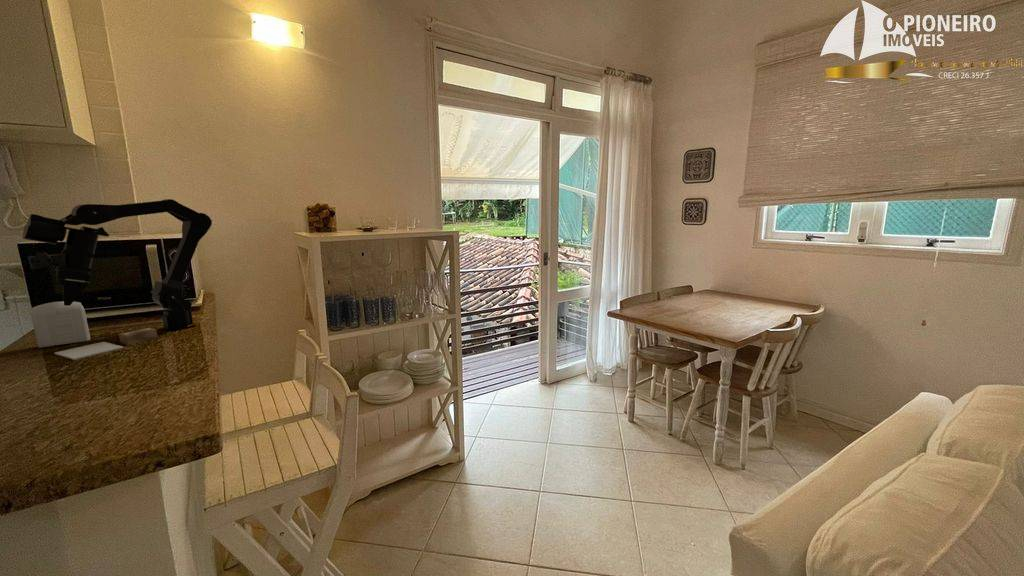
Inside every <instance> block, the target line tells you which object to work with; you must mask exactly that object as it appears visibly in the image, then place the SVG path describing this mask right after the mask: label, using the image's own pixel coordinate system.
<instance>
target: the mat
mask: <svg viewBox="0 0 1024 576" xmlns="http://www.w3.org/2000/svg"><path fill="white" fill-rule="evenodd" d="M122 349H124V346H122V345H118V344H115V343H110V342H107V341H101V342H96V343H92V344H86V345H82V346H78V347H74V348H70V349H69V348H68V349H65V350H61V351H56V352H54V353H53V354H54V355H56V356H59V357H63V358H65V359H69V360H72V361H76V360H81V359H84V358H88V357H89V358H90V357H92V356H97V355H102V354H106V353H109V352H113V351H117V350H122Z"/></svg>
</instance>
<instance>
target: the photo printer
mask: <svg viewBox="0 0 1024 576" xmlns="http://www.w3.org/2000/svg"><path fill="white" fill-rule="evenodd" d="M86 314H87V313H86V310H85V308H84V306H83V305H82V302H79V301H74V302H73V303H72V304H71V305H70V306H66V305H64V301H52V302H48V303H42V304H39V305H36V306H33V307H31V312H30V317H31V322H32V326H33V329H34V335H35V339H36V343H37V347H38V348H39V349H40V348H48V347H54V346H55V345H56V346H62V345H68V344H75V343H82V342H88V341H90V340H91V335H90V330H89V325H88V320H87V315H86Z"/></svg>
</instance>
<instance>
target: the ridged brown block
mask: <svg viewBox="0 0 1024 576" xmlns="http://www.w3.org/2000/svg"><path fill="white" fill-rule="evenodd" d="M157 331H158V330H157V329H156V328H151V327H145V328H141V329H140V328H139V329H135V330H131V331H126V332H122V333H118V338H119V342H120V344H123V345H127V346H129V345H134V344H138V343H143V342H147V341H151V340H156V339H158V338H159V337H158V332H157Z"/></svg>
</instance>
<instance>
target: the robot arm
mask: <svg viewBox="0 0 1024 576" xmlns="http://www.w3.org/2000/svg"><path fill="white" fill-rule="evenodd" d="M70 212H71V213H70V214H68V215H66V216H65V217H64V216H63V217H62V218H60V219H56V218H50V217H47V216H42V215H39V214H35V213H30V214H29V217H28V220H27V221H26V223H25V224H26V225H24V227H23V231H22V240H27V241H34V242H39V243H44V244H45V243H47V244H52V245H57V243H58V242H63V241H64V240H65V238H66V240H65V245H64V247H63V249H62V250H61V252H60V254H48V253H46V252H37V253H36V254H35V255H33V256H28V257H27V258H28V261H29V262H28V263H29V265H30V268H31V270H38V269H41V268H50V267H56V271H55V274H56V275H55V276H56V277H55V278H56V279H55V280H56V281H58V282H59V283H60V284H61V285H62V302H64V305H66V306H70V305H71V304H72V303H73V302H75V300H76V299H77V298H78V297H79V296H80V295H81V294H82V292H83V291H84V290H85V289H86V288H87V287H88V286H89V285H90V284H91V282H92V279H93V276H94V275H93V274H92V272H91V271H92V265H93V260H94V258H95V255H96V254H95V251H96V248H97V243H98V239H99V237H100V236H102V237H110V234H109V233H108V232H107V231H106V230H105V229H104V227H102V226H99V227H97V228H94V227H89V226H96V225H101V224H104V223H108V222H112V221H115V220H119V219H122V218H130V217H137V216H146V215H154V214H162V213H163V214H164V213H167V214H169V215H171V216H172V217H174V218H175V219H177V220H178V221H180V222H182V225H181V235H182V237H181V239H180V241H179V244H178V246H177V248H176V251H175V254H174V256H173V258H172V261H171V264H170V265H169V269H168V271H167V273H166V276H165V277H164V278H163V279H162V281H159V280H155V281H154V285H153V286H154V287H153V288H152V290H151V291H150V294H151V299H152V300H153V302H154V303H155V304H156V305H158V306H161V308H162V309H163V311H162V312H163V315H162V316H161V317H162V321H163V322H162V323H163V327H162V329H165V330H168V329H169V330H168V331H173V330H175V331H178V329H179V330H181V329H180V328H184V327H187V326H188V325H190V324H194V321H193V315H192V307H193V306H192V305H193V303H192V302H190V301H189V300H187V299H185V298H183V293H184V279H185V276H186V274H187V272H188V270H189V267H190V265H191V261H192V259H193V257H194V255H195V252H196V249H197V247H198V244H199V242H200V240H201V239H202V238H203V237H205V236H206V234H208V231H209V230H210V229H211V227H212V223H213V222H212V221H213V220H212V219H211V218H210V217H211V216H209V215H208V214H206V213H205V212H204V213H203V212H198V211H196V210H194V209H192V208H190V207H188V206H185V205H184V204H181V203H179V202H178V201H176V200H175V199H172V198H171V199H169V198H168V199H165V198H164V199H162V200H153V201H143V202H136V203H135V202H133V203H125V204H99V203H98V204H95V203H87V204H78V205H75V206H74V207H73V208H72V209H71V211H70ZM82 225H83V226H82ZM85 225H87V226H85ZM68 226H81V227H80V228H73V227H68ZM67 230H68V232H67ZM66 235H67V236H66ZM184 329H185V328H184Z"/></svg>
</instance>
